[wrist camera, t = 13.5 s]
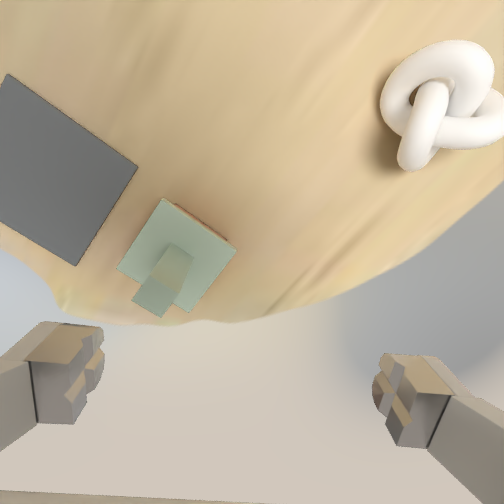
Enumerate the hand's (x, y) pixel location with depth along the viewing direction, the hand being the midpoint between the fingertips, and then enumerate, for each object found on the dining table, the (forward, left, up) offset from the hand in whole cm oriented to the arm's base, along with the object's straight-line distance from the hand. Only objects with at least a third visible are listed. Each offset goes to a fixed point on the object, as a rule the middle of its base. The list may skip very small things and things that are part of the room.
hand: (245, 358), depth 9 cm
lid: (-2, -10, -27) cm, 28 cm away
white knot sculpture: (+10, +20, -31) cm, 39 cm away
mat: (-20, -13, -31) cm, 39 cm away
